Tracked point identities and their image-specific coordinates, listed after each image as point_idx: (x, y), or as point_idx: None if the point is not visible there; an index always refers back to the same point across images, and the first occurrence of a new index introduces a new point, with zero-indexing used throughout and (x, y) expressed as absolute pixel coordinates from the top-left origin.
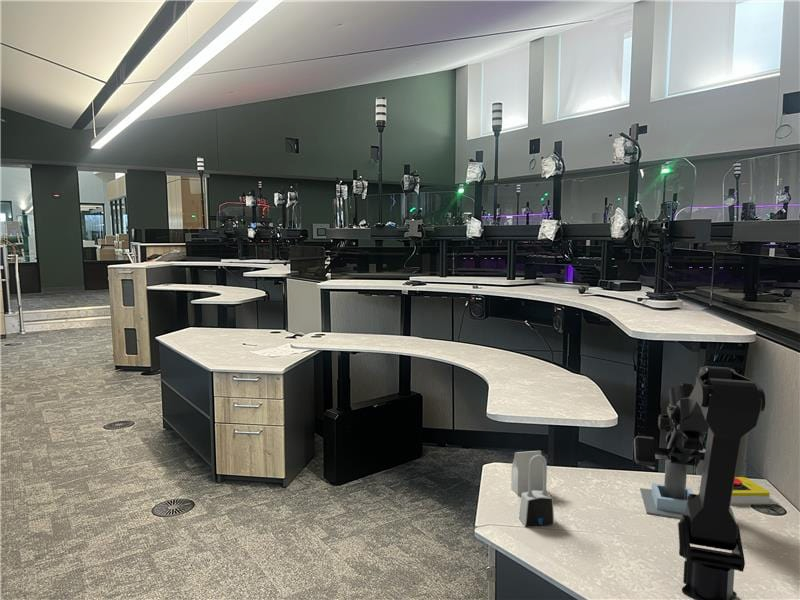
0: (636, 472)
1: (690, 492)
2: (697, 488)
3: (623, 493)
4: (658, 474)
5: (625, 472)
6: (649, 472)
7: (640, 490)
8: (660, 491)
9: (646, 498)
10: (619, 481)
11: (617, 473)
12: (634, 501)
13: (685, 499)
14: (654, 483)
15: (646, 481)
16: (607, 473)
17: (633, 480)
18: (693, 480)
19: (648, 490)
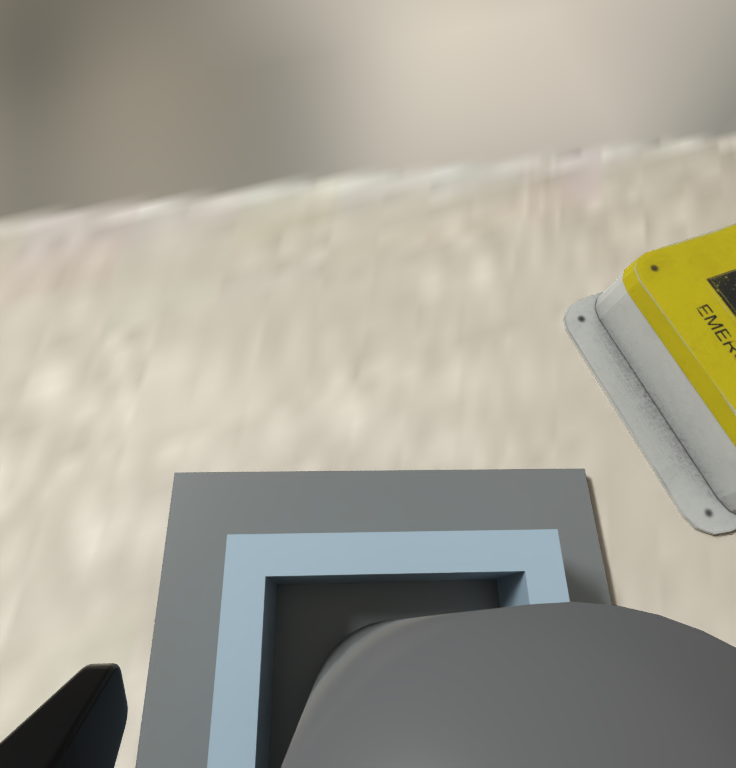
0: (220, 206)
1: None
2: (570, 332)
3: (14, 604)
4: (353, 198)
5: (145, 224)
6: (303, 186)
7: (175, 496)
8: (300, 579)
9: (176, 681)
10: (56, 377)
11: (84, 253)
12: None
13: (489, 581)
14: (246, 539)
15: (257, 319)
16: (8, 272)
17: (168, 330)
18: (548, 221)
19: (229, 500)
